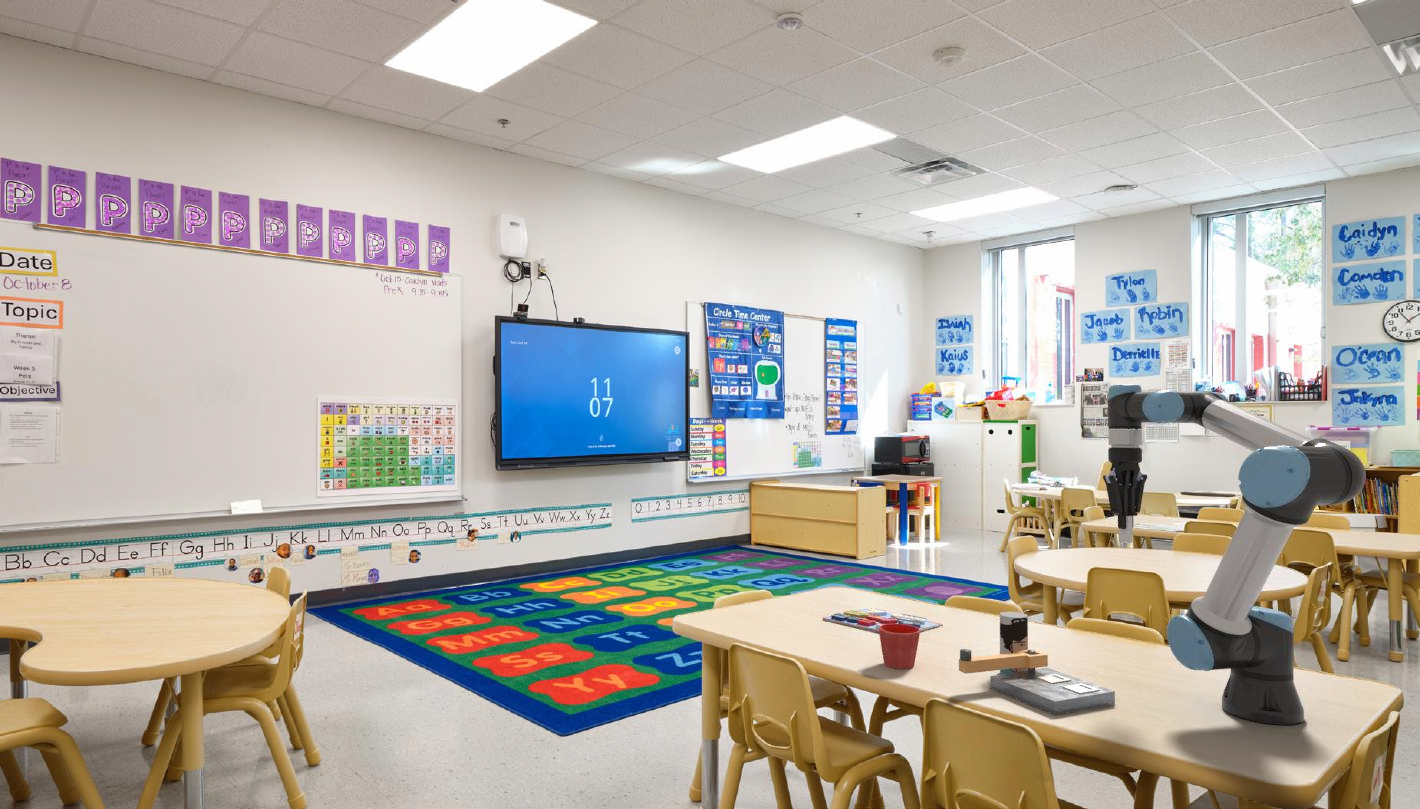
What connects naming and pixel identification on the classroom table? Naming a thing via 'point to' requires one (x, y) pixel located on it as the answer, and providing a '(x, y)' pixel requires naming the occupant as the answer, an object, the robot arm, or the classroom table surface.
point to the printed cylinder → (1013, 636)
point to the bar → (1000, 661)
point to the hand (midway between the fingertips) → (1125, 541)
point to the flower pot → (899, 645)
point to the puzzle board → (879, 620)
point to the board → (1052, 690)
